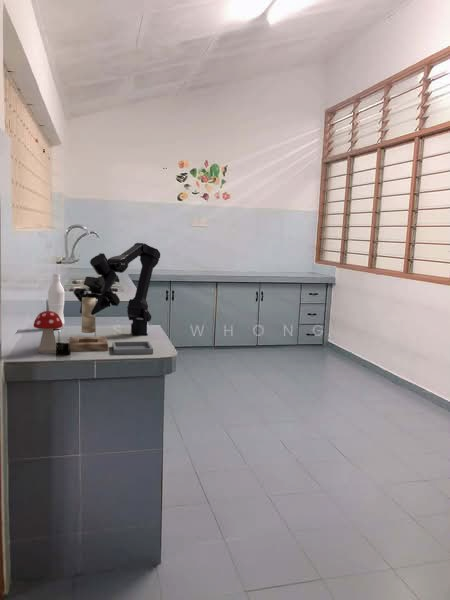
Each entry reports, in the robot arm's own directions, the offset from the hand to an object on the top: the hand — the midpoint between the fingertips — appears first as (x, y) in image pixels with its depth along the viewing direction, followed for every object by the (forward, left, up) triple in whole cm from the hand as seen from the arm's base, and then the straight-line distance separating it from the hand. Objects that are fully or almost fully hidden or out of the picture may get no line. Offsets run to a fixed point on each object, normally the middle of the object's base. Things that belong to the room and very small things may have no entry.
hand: (86, 313), depth 188 cm
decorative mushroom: (+13, +7, -13) cm, 20 cm away
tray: (-17, +6, -13) cm, 22 cm away
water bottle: (+13, -42, -13) cm, 46 cm away
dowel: (-1, -1, -7) cm, 7 cm away
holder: (-1, -1, -13) cm, 13 cm away
